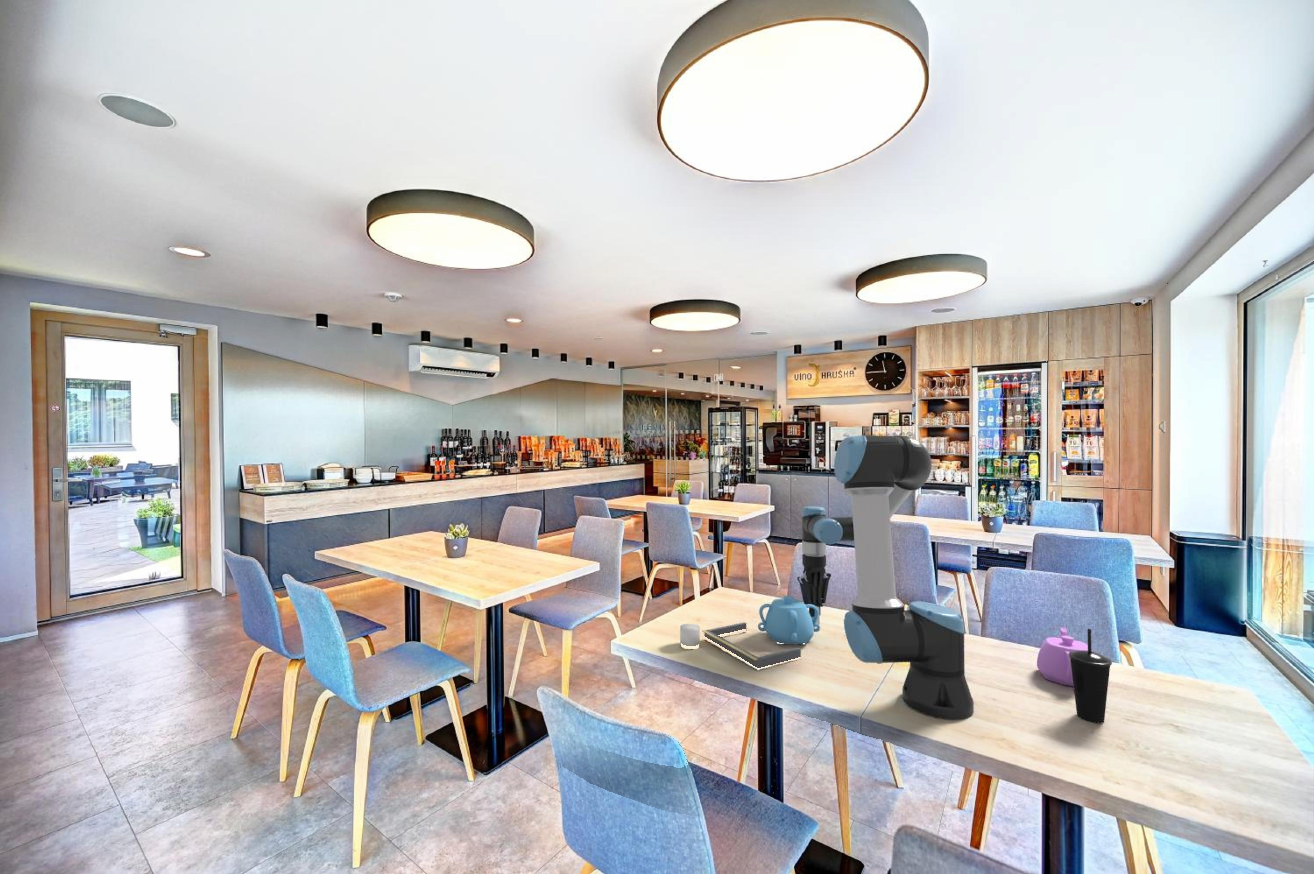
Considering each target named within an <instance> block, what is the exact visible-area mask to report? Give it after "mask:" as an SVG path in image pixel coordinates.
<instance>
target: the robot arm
mask: <svg viewBox="0 0 1314 874" xmlns="http://www.w3.org/2000/svg"><path fill="white" fill-rule="evenodd" d="M833 463H834V464H833V465H834V466H833V467H834V468H833V470H834V475H835V479H836V481H838V482H839V483H841V484H843V487H844V491H845V492H846V493H847V494H848V495H849V496H850V498H851V509H852V516H827V514H826V508H825V507H822V506H818V505H817V506H814V505H811V506H808V505H807V506H804V507H803V508H802V510H801V518H800V519H801V541H802V542H801V543H802V544H801V547H802V548H801V549H802V553H803V554H802V556H801V559H802V560H801V561H802V562H801V563H802V566H803V571H802V574H801V576H797V581H798V583H799V587H800V592H801V597H802V602H803V603H804V604H805V605H807V604H812V605H814V606H816V607H817V609H818V611H819V615H818V619H817V621H816V623H818V624H819V625H820V623H821V621H820V616H821V612H822V611H821V608H823V607H824V604H826V600H827V595H828V594H827V593H828V589H829V582H830V581H831V578H832V573H829V572H827V571H826V566H827V555H826V554H827V545H834V544H836V543H838V542H842V543H843V542H853V544H854V553H855V554H854V555H855V567H856V569H855V572H856V585H857V596H856V597H855V598H854V599H853V600H852V601H851V607H852V610H849V611H847V612H846V613H844V619H843V627H844V633H845V637H846V641H847V643H848V646H849V648H850V649H851V652H852V653H853V654H854V656H855V657H856V658H857V659H858V660H859V661H860V662H862V663H866V664H869V663H870V664H878V665H880V664H884V663H885V664H888V663H890V664H891V663H909V669H908V671H907V675H906V677H905V680H904V682H903V685H902V689H901V690H902V692H901V694H902V698H901V699H902V700H903V702H904V703H905V705H907V706H908V707H910V708H911V709H912V710H914V711H916V712H919V713H920V714H923V715H926V716H930V717H933V718H936V719H937V718H938V719H944V720H962V719H967V718H969V717H971V716H973V714H974V712H975V711H974V710H975V707H974V706H975V705H974V704H975V703H974V699H973V697H972V694H971V691H970V690H971V689H970V688H969V684H968V682H967V679H966V676H965V675H966V671H965V634H966V631H965V623H964V622H965V621H964V618H963V615H961V614H960V613H959V612H958V611H956V610H954V609H952V608H950V607H947V606H945V605H941V604H937V603H932V602H926V601H919V600H918V601H915V600H914V601H911V602H910V603H909V605H908V609H907V610H905V605H904V603H903V602H902V600H900V599H899V598H898V597H897V590H896V587H897V586H896V577H895V576H896V575H895V564H894V553H893V552H894V550H893V539H892V525H891V518H892V517H893V516H894V514H895V513H896V512H897V511H898V509H899V508H900V507H901V505H903V503H904V502H905V501H906V500H907V499H908V498H909V496H910V495H911V494H912V493H913V492H915V491H918V490H920V489H921V488H922V487H923V486H924V485H925V484H926V482H927V481H928V479H929V478H930V476H931V473H932V466H933V465H932V458H931V455H930V452H929V450H928V449H927V448H926V447H925V445H923V443H922V442H921V441H918V440H917V439H915V438H914V437H911V436H907V435H869V434H868V435H866V434H864V435H860V434H859V435H853V436H852V435H851V436H846V437H845V438H843V439H842V440H841V442H840V443H839V444H838V447H837V449H836V452H835V457H834V462H833ZM808 611H809V613H810V616H811V618H812V621H813V619H814V616H815V609H813V608H808ZM817 627H818V626H815V629H816V628H817Z"/></svg>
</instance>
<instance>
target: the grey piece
mask: <svg viewBox="0 0 1314 874" xmlns="http://www.w3.org/2000/svg"><path fill="white" fill-rule="evenodd" d="M742 629H746V630H747V623H746V622H740V623H739V622H738V623H734V624H731V625H730V624H729V625H725V626H720V627H716V628H711V629H710V628H709V629H706V630H705V629H702V630H701V631H702V632H703V635H704V636H705V637H707V638H708V639H710V640H712V641H713V642H715V643H717V644H719V645H720V646H722V647H724V648H725V649H727V650H729V651H731V652H732V653H734V654H736V655H737V656H739V657H741V658H742V659H744V660H745V661H747V662H749V663H750V664H752V665H753V666H755V667H757V668H761V667H765V666H768V665H773V664H776V663H780V662H784V661H788V660H791V659H795V658H798V657H801V658H802V653H801V652H802V650H801V648H800V647H794V648H790V649H785V650H782V651H779V652H774V653H771V654H766V655H763V656H756V655H754V654H753V653H751V652H749V651H747V650H746V649H743V648H742V647H740V646H739V645H736V644H735V643H732V642H731V641H729V640H727V639H726V638H722V637H720V636H718V635H720V634H724V633H730V632H734V631H738V630H742ZM704 636H703V637H704Z"/></svg>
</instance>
